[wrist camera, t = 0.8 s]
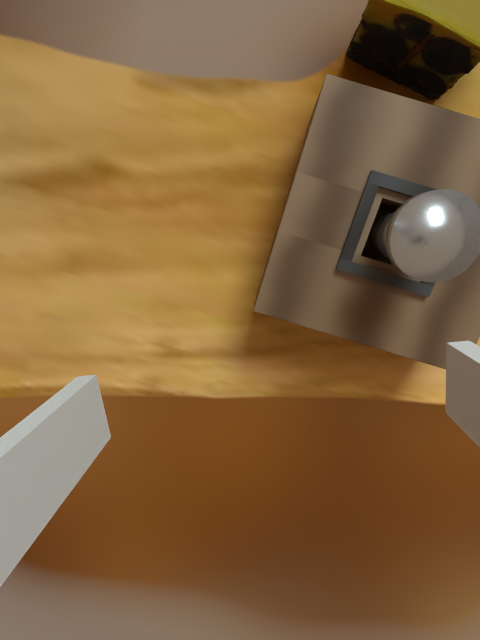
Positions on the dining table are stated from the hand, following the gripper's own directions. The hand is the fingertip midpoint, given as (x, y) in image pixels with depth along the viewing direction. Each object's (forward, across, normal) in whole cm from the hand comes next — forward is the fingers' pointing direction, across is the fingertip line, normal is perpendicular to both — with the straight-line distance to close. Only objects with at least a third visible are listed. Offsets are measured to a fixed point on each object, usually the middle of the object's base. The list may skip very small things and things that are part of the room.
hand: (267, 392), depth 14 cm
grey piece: (+21, +12, +4) cm, 24 cm away
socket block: (+28, +12, +4) cm, 31 cm away
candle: (+28, +17, +22) cm, 40 cm away
